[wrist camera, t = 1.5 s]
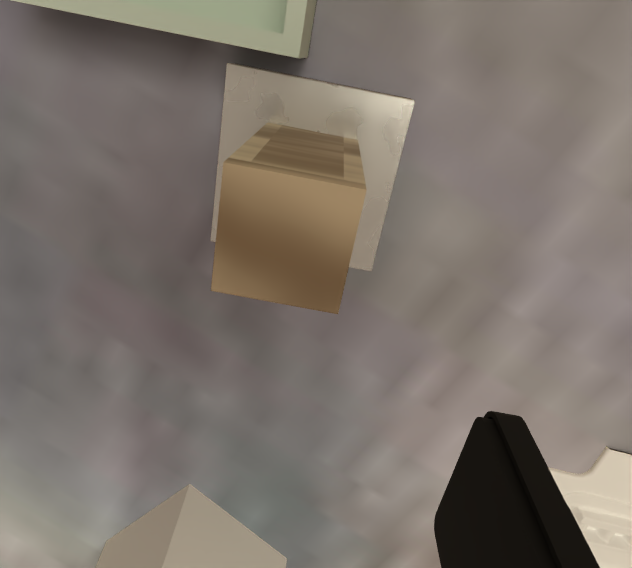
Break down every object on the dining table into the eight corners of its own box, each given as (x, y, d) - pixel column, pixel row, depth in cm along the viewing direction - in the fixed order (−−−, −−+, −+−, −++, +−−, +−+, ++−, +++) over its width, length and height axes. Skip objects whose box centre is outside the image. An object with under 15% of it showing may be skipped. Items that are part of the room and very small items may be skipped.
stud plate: (232, 62, 26) (201, 65, 21) (411, 98, 27) (430, 111, 21) (216, 232, 31) (186, 274, 25) (370, 261, 31) (376, 310, 25)
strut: (267, 122, 26) (223, 162, 16) (357, 139, 26) (366, 189, 17) (256, 209, 28) (211, 290, 19) (339, 225, 29) (337, 314, 19)
